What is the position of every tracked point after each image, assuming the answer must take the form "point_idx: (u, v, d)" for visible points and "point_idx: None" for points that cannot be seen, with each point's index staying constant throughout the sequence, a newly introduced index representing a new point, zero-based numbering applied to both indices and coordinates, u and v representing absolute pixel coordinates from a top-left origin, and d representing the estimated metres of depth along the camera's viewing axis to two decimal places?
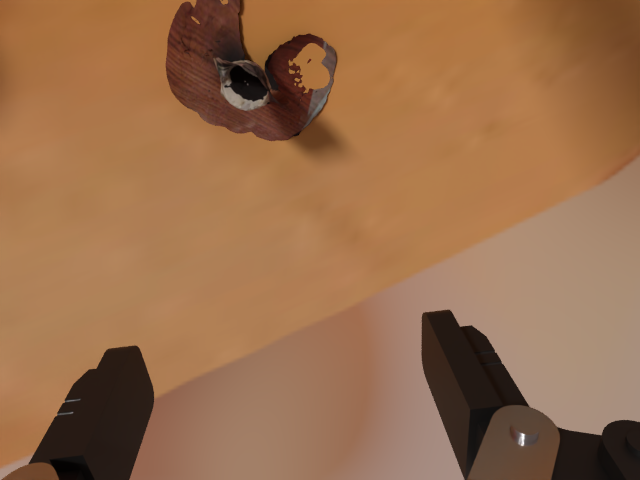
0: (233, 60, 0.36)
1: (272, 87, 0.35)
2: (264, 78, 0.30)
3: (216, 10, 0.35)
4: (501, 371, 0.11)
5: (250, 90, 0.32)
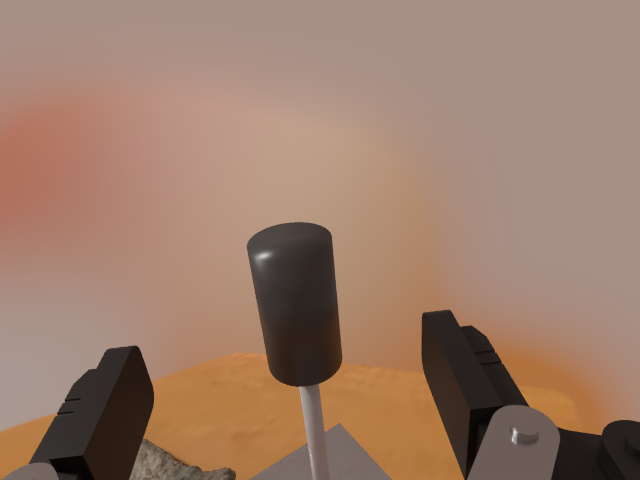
0: None
1: None
2: None
3: None
4: (501, 371, 0.11)
5: None
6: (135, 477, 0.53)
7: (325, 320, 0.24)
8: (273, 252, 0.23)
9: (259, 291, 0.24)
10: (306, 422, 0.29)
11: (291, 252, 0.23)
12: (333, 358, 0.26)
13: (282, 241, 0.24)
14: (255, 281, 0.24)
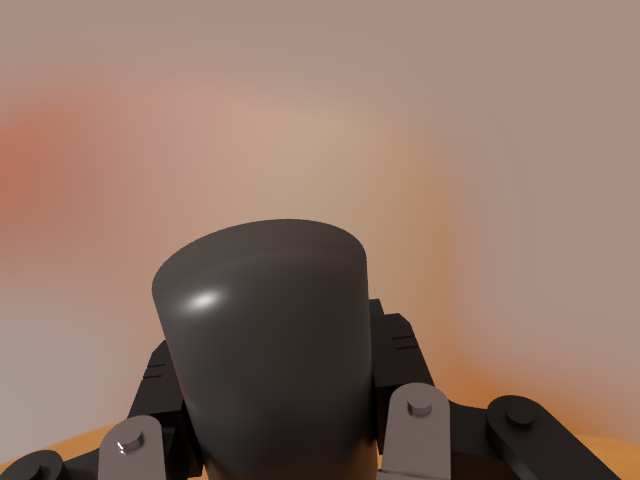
0: None
1: None
2: None
3: None
4: (416, 354, 0.12)
5: None
6: None
7: (350, 456, 0.10)
8: (213, 297, 0.09)
9: (185, 391, 0.09)
10: None
11: (263, 297, 0.08)
12: None
13: (243, 265, 0.10)
14: (175, 366, 0.09)
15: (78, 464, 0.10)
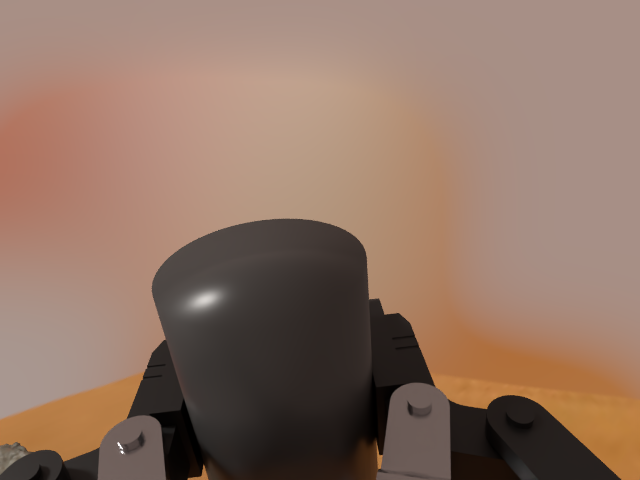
0: None
1: None
2: None
3: None
4: (416, 354, 0.12)
5: None
6: None
7: (350, 456, 0.10)
8: (214, 296, 0.09)
9: (185, 390, 0.09)
10: None
11: (263, 297, 0.08)
12: None
13: (244, 265, 0.10)
14: (175, 366, 0.09)
15: (77, 464, 0.10)
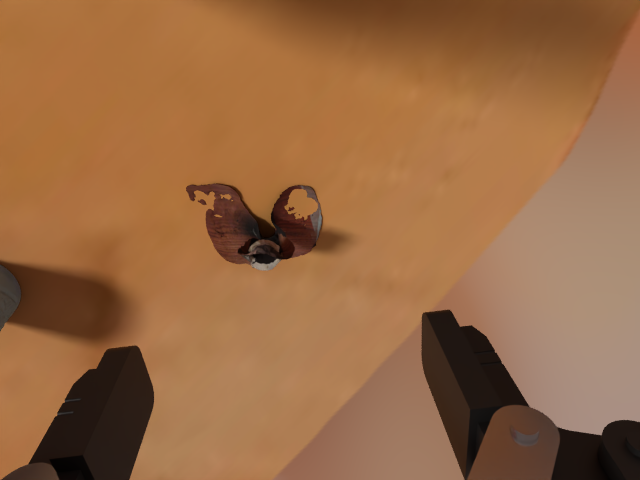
0: (251, 226, 0.52)
1: (282, 234, 0.51)
2: (272, 249, 0.46)
3: (227, 204, 0.51)
4: (501, 371, 0.11)
5: (268, 255, 0.48)
6: None
7: None
8: None
9: None
10: None
11: None
12: None
13: None
14: None
15: None
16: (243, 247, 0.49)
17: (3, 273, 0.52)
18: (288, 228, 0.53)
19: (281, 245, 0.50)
